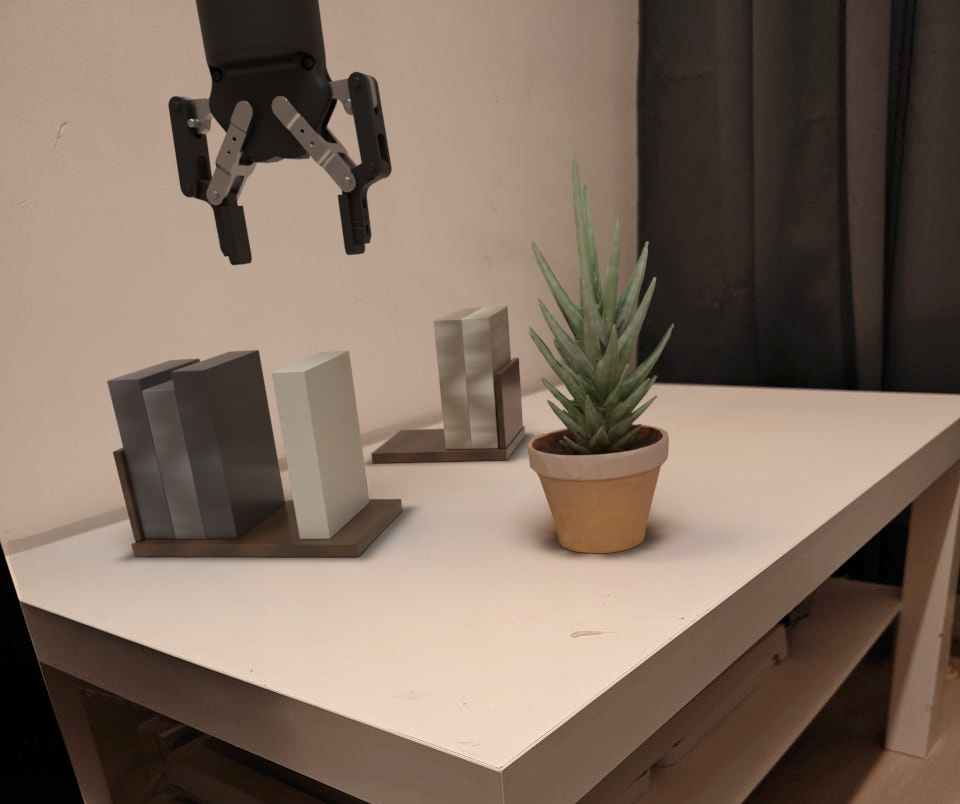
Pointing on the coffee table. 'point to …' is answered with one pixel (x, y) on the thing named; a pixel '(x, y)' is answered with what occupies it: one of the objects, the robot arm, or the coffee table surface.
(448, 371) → the ivory shelf
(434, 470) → the coffee table surface
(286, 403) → the ivory book
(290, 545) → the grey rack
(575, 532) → the potted plant
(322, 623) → the coffee table surface
